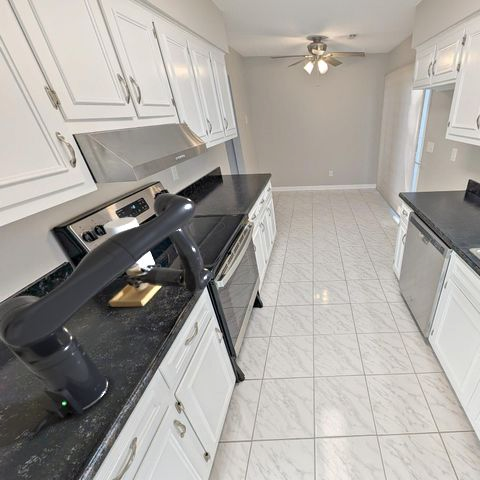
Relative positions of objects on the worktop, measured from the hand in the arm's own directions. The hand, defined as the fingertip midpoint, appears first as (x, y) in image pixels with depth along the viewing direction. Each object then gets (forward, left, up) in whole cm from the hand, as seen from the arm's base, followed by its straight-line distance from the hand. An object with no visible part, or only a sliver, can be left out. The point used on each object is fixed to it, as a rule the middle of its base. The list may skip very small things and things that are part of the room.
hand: (130, 273), depth 107 cm
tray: (0, -3, -9) cm, 9 cm away
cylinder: (+16, +14, -9) cm, 23 cm away
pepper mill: (0, -3, -7) cm, 7 cm away
